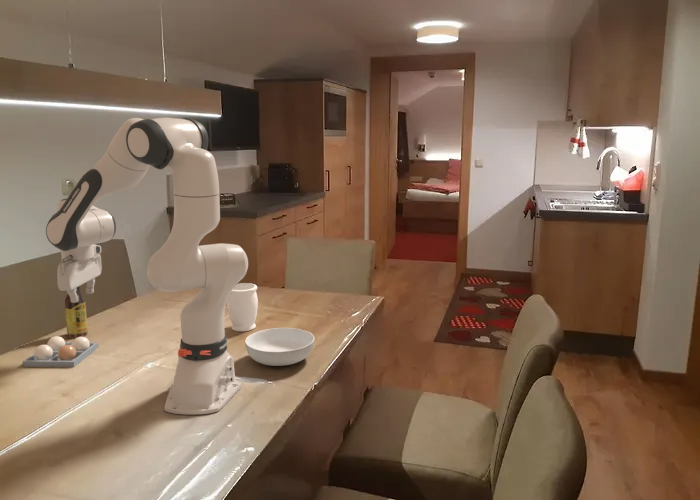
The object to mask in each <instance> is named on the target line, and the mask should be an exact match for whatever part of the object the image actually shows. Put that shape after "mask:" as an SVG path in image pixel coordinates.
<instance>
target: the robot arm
mask: <svg viewBox="0 0 700 500" xmlns="http://www.w3.org/2000/svg"><path fill="white" fill-rule="evenodd" d="M119 127H120V128H119V129H118V130H117V132H116V133H115V134H114V135H113V138H112V139H111V141H110V143H109V145H108V148H106V150H105V152H104V154H103V155H102V157H101V158H100V159H99V160H98V161H97V162H96V164H95V165H94V166H92V168H90V169H89V170H87V171H86V172H85V173H84V174H83V175H82V176H81V178H80V179H79V180H78V182H77V183H76V185H75V186H74V188H73V189H72V191H71V192H70V194H69V195H68V197H67V198H63V199H61V200H59V201H58V204H57V210H56V211H57V212H55V213H54V214H53V215H52V216H51V217H50V218H49V219H48V222H47V224H46V228H45V233H46V234H45V235H46V239H47V241H48V242H49V243H50V244H51V245H52V246H53V247H55V248H57V249H58V250H60V255H61V259H60V260H61V261H60V263H58V266H57V272H56V273H57V274H56V277H57V279H56V280H57V289H58V290H59V291H61V292H63V291H64V292H66V293H67V295H68V294H69V296H70V299H71V302H72V303H76V302H78V301H79V296H77V294H76V291H77V289H76V288H77V287H78V286H80V287H81V286H82V285H84V284H85V283H86V288H85V294H86V295H92V294H93V293H94V292H95V291H94V290H95V289H94V288H95V283H96V278H98V277H99V276H101V274H102V269H103V266H102V256H101V253H102V246H101V245H98V244H102V243H105V242H108V241H111V240H112V239H113V238H114V237H115V235H116V231H117V223H116V220H115V218H114V216H113V214H112V213H111V212H110V211H108V210H106V209H102V208H99V207H96V206H95V205H94V204H96V202H98V201H100V200H101V199H103V198H105V197H106V196H107V197H108V196H110V195H112V194H116V193H118V192H122V191H126V190H129V189H131V188H134V187H136V186H137V185H138V184H139V183H140V182H141V181H142V180H143V179H144V177H145V176H146V174H147V172H148V171H149V169H150V168H151V167H150V166H152V167H153V168H155V169H157V170H164V169H165V168H166V167H167V168H168V170H169V171H170V172H171V175H172V181H173V224H172V228H171V232H170V233H169V235H168V238H167V239H166V241H165V242H164V243H163V245H162V246H161V247H160V248H159V249H158V250H157V251H155V252H154V253H153V254H152V255H151V257H150V259H149V260H148V262H147V266H146V275H147V278H148V281H149V283H150V284H151V286H152V287H153V288H155V289H156V290H157V291H158V292H183V291H189V290H196V289H200V290H199V293H198V294H197V295H196V296H195V297H194V298H193V299H192V300H191V301H189V302H187V303H186V304H185V305H184V307H183V308H182V309H181V312H180V315H179V316H180V329H181V338H180V343H179V349H178V350H177V356H178V358H177V359H178V360H177V365H176V368H175V374H174V377H173V378H174V379H173V381H172V383H171V385H170V389H169V392H168V394H167V397H166V400H165V402H164V407H163V410H164V411H165V412H167V413H170V414H173V415H174V414H176V415H187V416H189V415H191V416H192V415H196V416H197V415H206V414H207V415H208V414H213V413H216V412H217V413H218V412H220V411H221V409H222V408H223V407H224V406H225V405H226V404H227V403H228V402H229V401H230V400H231V398H233V396H234V395H236V394H237V393H238V391H239V390H240V389H241V388H242V383H241V381H239V380H236V375H235V374H236V373H235V364H234V358H233V356H232V355H230V353H229V352H228V351H227V349H228V338H227V334H225V333H226V332H225V313H226V312H225V311H226V305H227V299H228V297H229V295H230V293H231V291H232V289H233V288H234V287H235V285H236V284H239V282H241V280H243V279H244V278H245V276H246V275H247V271H248V268H249V259H248V255H247V253H246V252H245V250H244V249H243V247H241V245H238V244H235V243H223V242H222V243H213V244H203V245H200V242H202V241H201V240H203V238H205V236H206V235H207V234H209V233H211V232H212V231H214V230H215V229H216V228H217V227H218V225H219V223H220V222H221V221H220V220H221V207H220V204H221V203H220V202H221V201H220V183H219V182H220V181H219V180H220V179H219V174H218V173H219V172H218V167H217V163H216V159H215V157H214V155H213V154H212V152H210V151H208V146H209V135H208V131H207V130H206V128H205V126H204V125H203V124H202V123H201V122H199V121H198V120H195V119H192V118H187V117H186V118H184V117H183V118H177V117H175V118H174V117H157V118H152V119H150V118H140V117H132V118H129V119H127V120H126V121H125V122H124V123H122V125H121V126H119Z"/></svg>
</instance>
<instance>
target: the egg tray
mask: <svg viewBox="0 0 700 500" xmlns="http://www.w3.org/2000/svg"><path fill="white" fill-rule="evenodd" d="M72 343H73V341H71V342H68V341H67V342H66V341H65V345H71V346H72ZM98 348H99V342H90V346H89V348H88V349H87V350H85V351H76V356H75V358H74V359H73V360H71V361H61V360H60V359H59V358H58V351H53V355H52V357H51V358H50V359H49V360H37V359H36V358H35V356H34V353H32V354H31V355H30V356H28V357H27V358H25V359H24V360H22V367H28V368H31V367H32V368H33V367H35V368H38V367H39V368H42V367H43V368H47V367H48V368H76V366H77V365H79V364H80V363H81V362H82V361H84V360H85V359H86V358H87V357H89V356H90V355H92V354H93V353H94V352H95V351H96V350H98Z"/></svg>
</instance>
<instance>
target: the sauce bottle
mask: <svg viewBox="0 0 700 500" xmlns="http://www.w3.org/2000/svg"><path fill="white" fill-rule="evenodd" d="M76 289H77V291H76V294H77V296H79V301H78V302H76V303H72V302H71V299H70V296H69V294H68V293H67V294H66V297H65V299H64V303H65V304H64V305H65V306H64V311H65V321H66V333H67V337H68V338H69V339H76V338H77V337H86V336H88V331H89V329H88V317H87V305H86V300H85V298H84V297H83V294H82V292H81V285H80V286H78V287H77V288H76Z"/></svg>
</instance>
